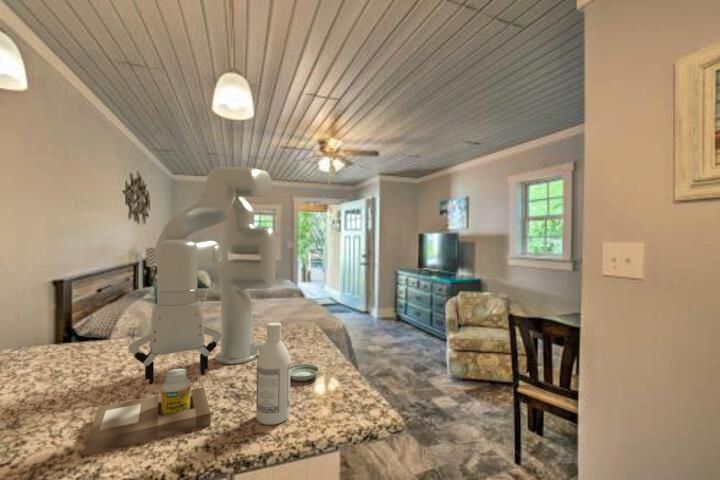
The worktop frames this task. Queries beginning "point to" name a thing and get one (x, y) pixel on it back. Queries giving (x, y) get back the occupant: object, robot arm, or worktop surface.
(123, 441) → the rack board
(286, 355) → the bath foam
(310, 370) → the saucer
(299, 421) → the worktop surface
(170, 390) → the supplement bottle
